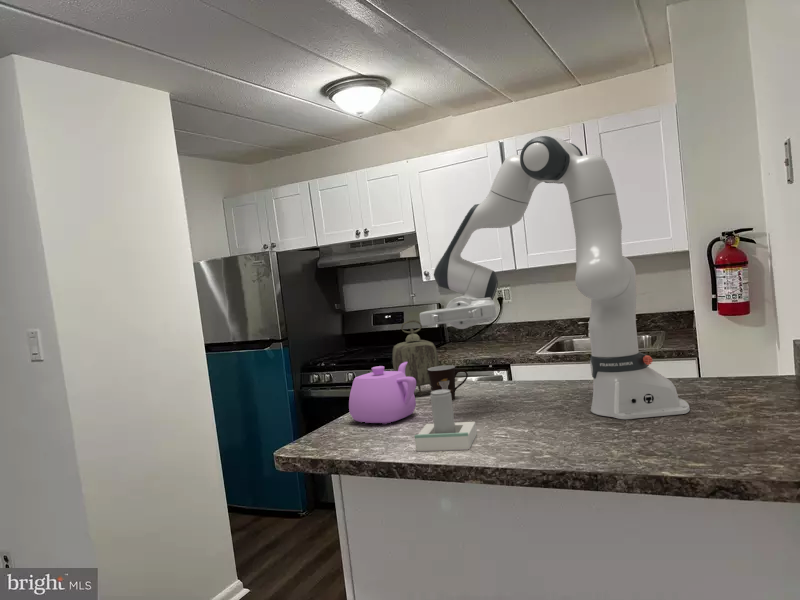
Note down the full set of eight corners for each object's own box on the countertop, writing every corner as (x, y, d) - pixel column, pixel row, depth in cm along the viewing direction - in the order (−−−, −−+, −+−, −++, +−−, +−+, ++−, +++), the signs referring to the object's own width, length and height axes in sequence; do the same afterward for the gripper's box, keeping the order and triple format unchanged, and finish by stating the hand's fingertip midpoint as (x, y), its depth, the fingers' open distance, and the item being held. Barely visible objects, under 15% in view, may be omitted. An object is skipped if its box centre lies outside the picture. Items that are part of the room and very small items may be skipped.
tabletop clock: (438, 389, 199) (429, 317, 198) (443, 394, 190) (434, 318, 189) (396, 395, 197) (387, 322, 196) (399, 400, 188) (391, 323, 187)
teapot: (402, 429, 151) (395, 372, 150) (341, 425, 163) (335, 372, 163) (447, 408, 169) (441, 357, 169) (389, 405, 182) (384, 358, 181)
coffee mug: (427, 403, 179) (423, 371, 179) (436, 397, 187) (432, 366, 187) (463, 402, 175) (459, 369, 174) (471, 395, 182) (467, 364, 182)
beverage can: (456, 445, 131) (450, 392, 131) (435, 446, 132) (429, 394, 132) (457, 439, 136) (451, 388, 136) (436, 440, 137) (430, 390, 137)
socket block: (476, 434, 138) (475, 419, 138) (469, 449, 127) (467, 433, 127) (427, 436, 142) (426, 421, 142) (416, 451, 130) (414, 435, 130)
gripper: (424, 306, 163) (412, 309, 150) (496, 296, 158) (491, 298, 144) (427, 328, 163) (415, 333, 150) (500, 319, 158) (494, 324, 144)
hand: (453, 316), depth 147 cm, fingers open, 8 cm apart
